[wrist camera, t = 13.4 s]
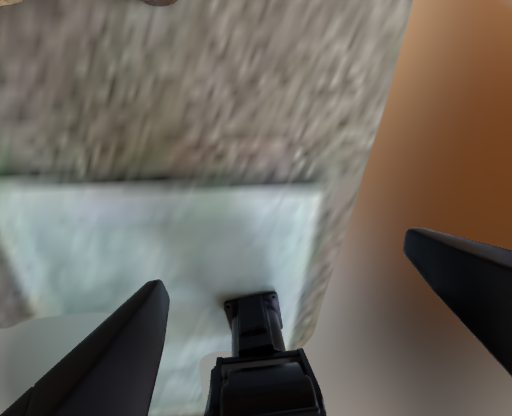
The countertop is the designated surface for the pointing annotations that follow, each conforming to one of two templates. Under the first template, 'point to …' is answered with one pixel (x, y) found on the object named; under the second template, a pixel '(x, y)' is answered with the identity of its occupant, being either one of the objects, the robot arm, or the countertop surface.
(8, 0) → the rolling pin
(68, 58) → the countertop surface
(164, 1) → the pepper mill
